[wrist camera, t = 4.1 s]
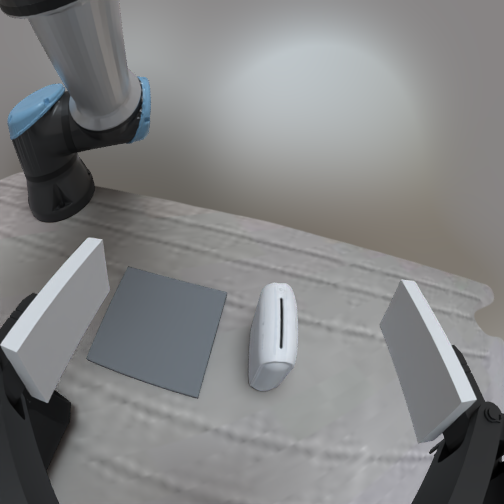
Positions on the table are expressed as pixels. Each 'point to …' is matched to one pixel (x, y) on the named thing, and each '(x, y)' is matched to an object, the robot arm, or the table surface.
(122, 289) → the rubber mat
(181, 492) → the table surface
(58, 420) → the portable speaker
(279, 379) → the photo printer
